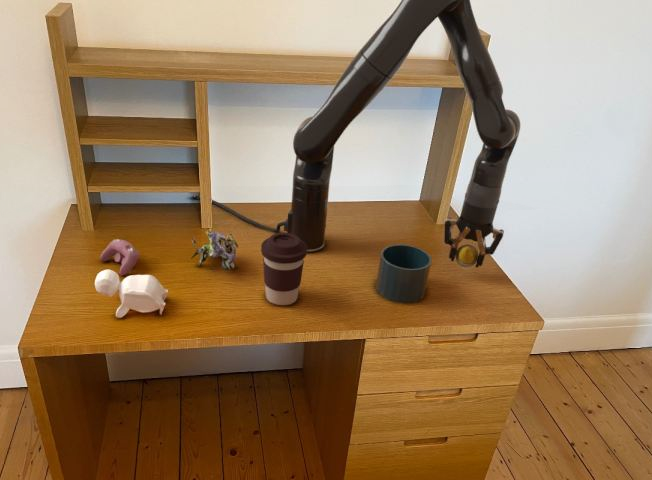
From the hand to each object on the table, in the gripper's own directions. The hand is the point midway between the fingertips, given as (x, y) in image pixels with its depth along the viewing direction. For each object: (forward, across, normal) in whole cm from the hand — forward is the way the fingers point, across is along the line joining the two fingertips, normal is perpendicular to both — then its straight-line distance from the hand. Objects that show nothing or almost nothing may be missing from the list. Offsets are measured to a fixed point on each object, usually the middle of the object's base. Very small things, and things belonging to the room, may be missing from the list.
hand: (464, 262), depth 143 cm
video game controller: (+6, +76, +33) cm, 84 cm away
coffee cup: (+5, +36, +28) cm, 46 cm away
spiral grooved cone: (+1, 0, 0) cm, 1 cm away
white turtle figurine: (+6, +64, +46) cm, 79 cm away
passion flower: (+6, +56, +23) cm, 61 cm away
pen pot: (+5, +13, +12) cm, 18 cm away
